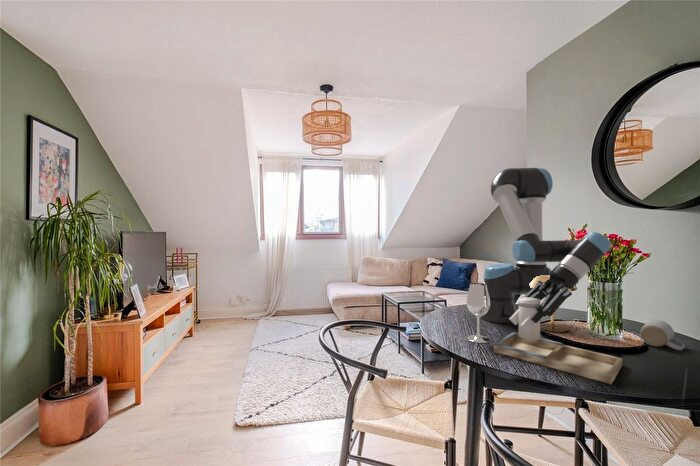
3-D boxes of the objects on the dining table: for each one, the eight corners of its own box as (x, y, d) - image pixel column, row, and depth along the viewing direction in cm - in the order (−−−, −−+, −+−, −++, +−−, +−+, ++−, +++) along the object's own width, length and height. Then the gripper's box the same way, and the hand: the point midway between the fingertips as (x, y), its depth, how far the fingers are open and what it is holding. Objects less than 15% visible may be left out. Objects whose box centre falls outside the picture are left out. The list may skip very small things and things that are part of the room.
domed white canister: (515, 336, 106) (515, 299, 105) (522, 332, 110) (522, 296, 110) (536, 341, 101) (536, 302, 101) (543, 336, 105) (543, 299, 105)
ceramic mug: (638, 343, 113) (639, 321, 112) (644, 338, 118) (645, 317, 118) (682, 354, 105) (683, 330, 104) (686, 347, 110) (687, 324, 109)
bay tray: (493, 352, 106) (493, 343, 106) (513, 340, 117) (513, 331, 117) (611, 386, 84) (611, 374, 84) (622, 366, 95) (622, 356, 95)
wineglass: (491, 344, 113) (491, 286, 113) (466, 342, 116) (466, 285, 115) (489, 337, 121) (489, 282, 120) (466, 334, 123) (466, 281, 123)
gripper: (600, 286, 96) (545, 343, 96) (556, 276, 115) (510, 324, 115) (582, 268, 96) (527, 326, 96) (541, 261, 115) (495, 309, 114)
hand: (518, 325), depth 105 cm, fingers closed on domed white canister, 6 cm apart
